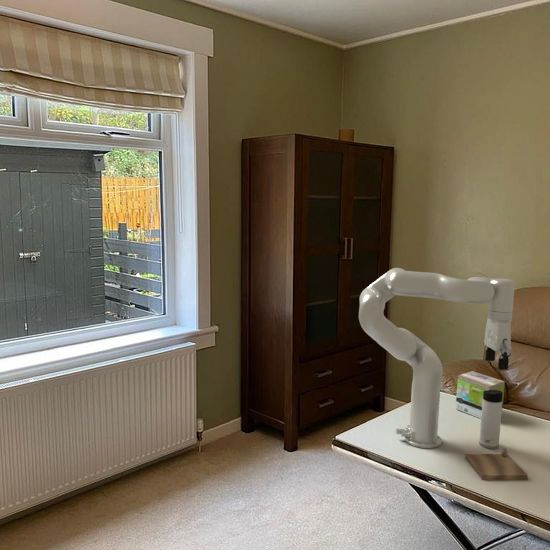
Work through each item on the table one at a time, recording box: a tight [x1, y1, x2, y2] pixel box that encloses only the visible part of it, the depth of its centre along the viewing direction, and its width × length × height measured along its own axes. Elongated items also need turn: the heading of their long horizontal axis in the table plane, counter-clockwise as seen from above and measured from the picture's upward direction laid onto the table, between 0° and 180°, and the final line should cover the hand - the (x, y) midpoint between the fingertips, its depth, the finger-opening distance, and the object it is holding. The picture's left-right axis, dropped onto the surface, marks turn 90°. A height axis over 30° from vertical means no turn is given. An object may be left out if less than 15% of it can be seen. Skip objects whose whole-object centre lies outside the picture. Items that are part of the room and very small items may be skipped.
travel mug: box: [478, 390, 503, 450], centre depth 191 cm, size 6×7×20 cm
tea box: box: [455, 370, 506, 420], centre depth 221 cm, size 15×10×15 cm
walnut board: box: [464, 447, 529, 481], centre depth 176 cm, size 14×14×4 cm
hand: (496, 365), depth 189 cm, fingers open, 9 cm apart
